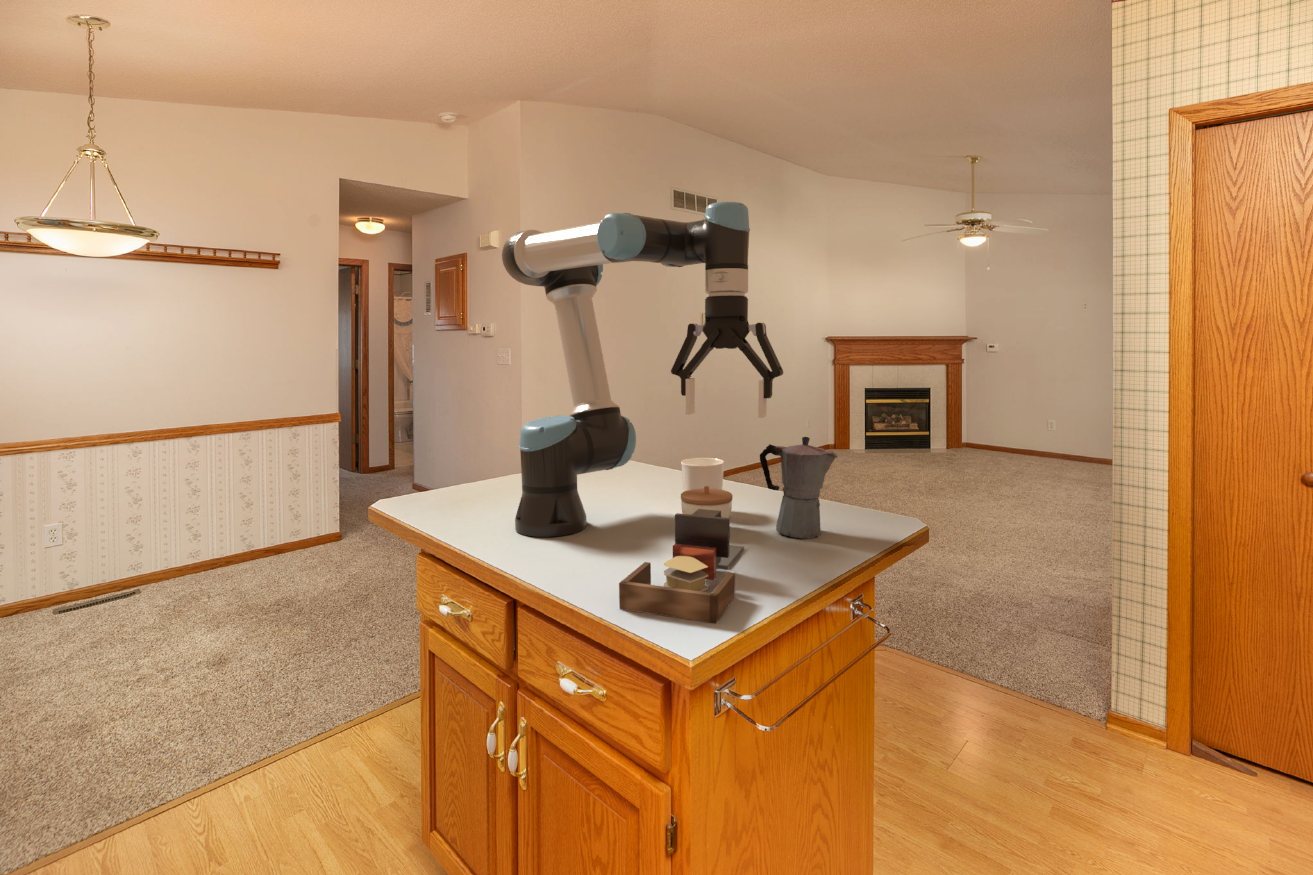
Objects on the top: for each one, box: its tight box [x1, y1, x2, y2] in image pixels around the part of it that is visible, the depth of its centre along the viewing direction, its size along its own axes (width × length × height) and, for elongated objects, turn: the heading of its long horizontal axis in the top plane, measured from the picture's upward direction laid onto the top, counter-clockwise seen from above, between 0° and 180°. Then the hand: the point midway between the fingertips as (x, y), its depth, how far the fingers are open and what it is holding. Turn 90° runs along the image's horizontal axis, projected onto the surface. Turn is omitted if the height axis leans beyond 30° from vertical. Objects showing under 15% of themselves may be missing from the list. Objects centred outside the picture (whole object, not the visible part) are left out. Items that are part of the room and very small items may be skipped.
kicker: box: [672, 509, 731, 581], centre depth 111 cm, size 9×9×9 cm
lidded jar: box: [680, 486, 734, 518], centre depth 138 cm, size 11×11×9 cm
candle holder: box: [680, 457, 725, 493], centre depth 152 cm, size 10×10×12 cm
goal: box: [618, 561, 736, 624], centre depth 100 cm, size 15×10×4 cm, turn 68°
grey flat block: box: [716, 544, 745, 570], centre depth 122 cm, size 6×12×1 cm, turn 158°
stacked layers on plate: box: [663, 556, 709, 592], centre depth 103 cm, size 10×9×6 cm
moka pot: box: [759, 436, 839, 539], centre depth 135 cm, size 10×15×20 cm, turn 78°
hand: (725, 415), depth 120 cm, fingers open, 13 cm apart
